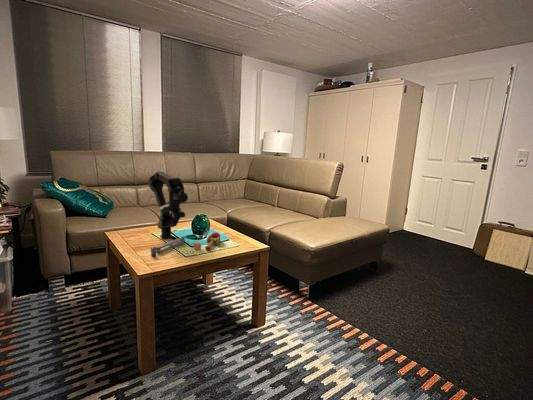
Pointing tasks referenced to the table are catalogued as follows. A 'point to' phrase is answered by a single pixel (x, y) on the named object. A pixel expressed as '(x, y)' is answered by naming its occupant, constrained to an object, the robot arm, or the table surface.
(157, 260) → the table surface
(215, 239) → the kendama
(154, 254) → the hinge post
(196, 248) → the latch post
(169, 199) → the robot arm
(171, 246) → the grey long rod
